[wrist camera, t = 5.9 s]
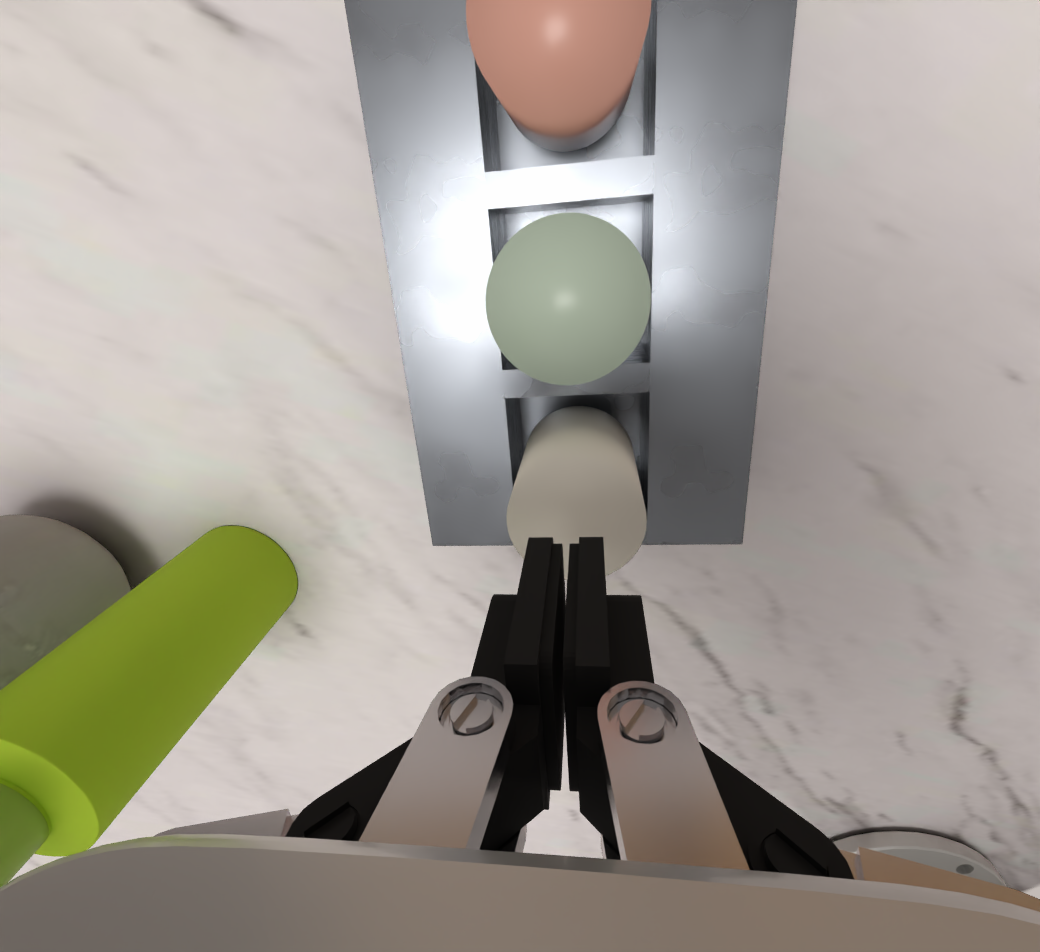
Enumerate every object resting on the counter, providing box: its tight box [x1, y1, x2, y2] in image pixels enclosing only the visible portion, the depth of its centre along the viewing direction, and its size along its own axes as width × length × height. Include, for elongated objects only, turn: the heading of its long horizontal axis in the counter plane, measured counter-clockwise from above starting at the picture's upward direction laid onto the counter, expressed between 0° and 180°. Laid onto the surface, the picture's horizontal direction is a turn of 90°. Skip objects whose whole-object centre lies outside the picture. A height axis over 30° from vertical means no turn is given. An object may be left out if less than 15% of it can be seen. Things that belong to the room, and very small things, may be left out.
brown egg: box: [466, 0, 651, 152], centre depth 14 cm, size 4×4×5 cm
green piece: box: [485, 213, 651, 385], centre depth 15 cm, size 4×4×5 cm
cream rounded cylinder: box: [506, 406, 647, 580], centre depth 18 cm, size 4×4×5 cm
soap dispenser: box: [0, 526, 298, 887], centre depth 20 cm, size 6×7×20 cm
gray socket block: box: [344, 0, 797, 546], centre depth 19 cm, size 12×19×4 cm, turn 4°
